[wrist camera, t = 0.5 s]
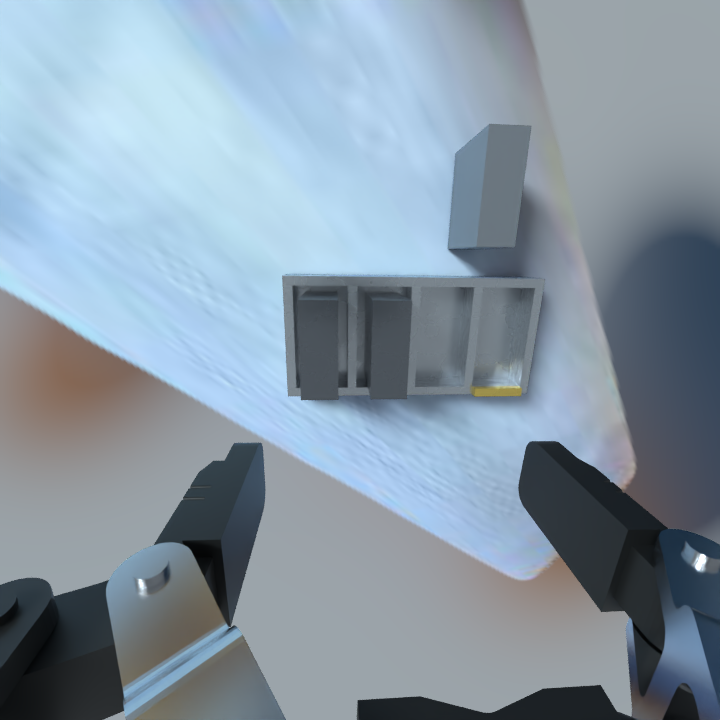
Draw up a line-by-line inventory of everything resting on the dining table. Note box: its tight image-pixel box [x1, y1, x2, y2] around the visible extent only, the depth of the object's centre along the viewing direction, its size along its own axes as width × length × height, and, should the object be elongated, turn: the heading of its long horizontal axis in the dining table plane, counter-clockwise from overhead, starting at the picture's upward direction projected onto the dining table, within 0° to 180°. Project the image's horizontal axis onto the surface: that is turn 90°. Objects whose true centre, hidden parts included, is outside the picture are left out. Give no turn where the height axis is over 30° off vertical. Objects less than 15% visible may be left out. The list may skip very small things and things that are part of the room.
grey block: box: [448, 124, 531, 249], centre depth 28 cm, size 8×3×7 cm, turn 179°
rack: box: [282, 274, 545, 400], centre depth 31 cm, size 23×11×8 cm, turn 89°
